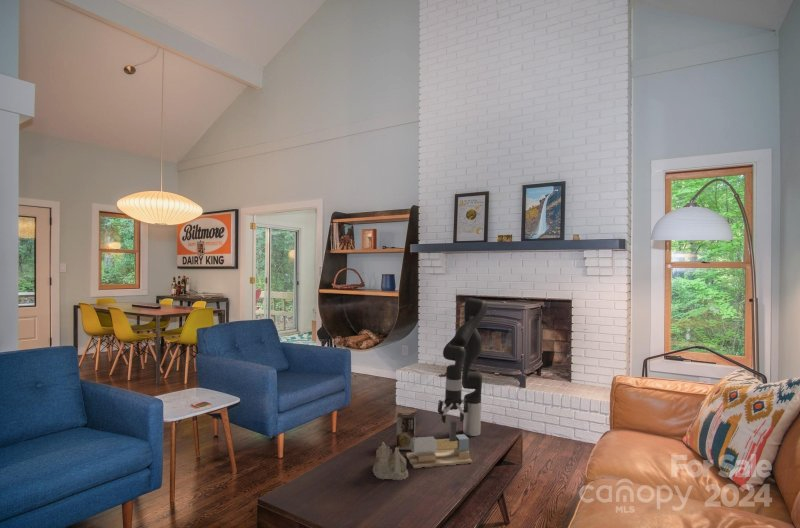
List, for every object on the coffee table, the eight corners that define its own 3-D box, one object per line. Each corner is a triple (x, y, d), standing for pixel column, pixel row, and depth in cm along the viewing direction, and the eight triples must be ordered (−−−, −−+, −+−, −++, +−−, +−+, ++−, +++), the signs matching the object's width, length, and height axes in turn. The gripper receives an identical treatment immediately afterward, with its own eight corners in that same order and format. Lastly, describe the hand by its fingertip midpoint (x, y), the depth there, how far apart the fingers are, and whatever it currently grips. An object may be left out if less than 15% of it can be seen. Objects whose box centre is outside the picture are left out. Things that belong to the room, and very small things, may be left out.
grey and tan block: (409, 454, 214) (409, 436, 214) (431, 452, 216) (431, 434, 216) (415, 463, 204) (415, 444, 204) (437, 461, 207) (438, 442, 207)
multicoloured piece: (430, 447, 213) (430, 421, 213) (462, 444, 216) (462, 419, 216) (432, 450, 209) (432, 423, 209) (464, 447, 213) (465, 421, 213)
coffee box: (415, 445, 228) (415, 413, 227) (414, 450, 221) (415, 417, 221) (397, 444, 228) (397, 412, 228) (395, 449, 222) (396, 416, 222)
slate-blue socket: (453, 451, 218) (454, 433, 218) (463, 451, 219) (463, 433, 219) (459, 458, 210) (460, 440, 210) (469, 458, 211) (469, 439, 211)
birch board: (406, 455, 216) (406, 452, 216) (461, 450, 222) (461, 448, 222) (413, 468, 202) (413, 465, 202) (472, 463, 208) (472, 460, 208)
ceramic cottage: (406, 481, 189) (406, 445, 190) (368, 479, 192) (368, 442, 193) (412, 467, 205) (411, 433, 206) (376, 465, 208) (376, 431, 209)
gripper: (464, 384, 218) (463, 418, 219) (436, 386, 215) (435, 420, 216) (470, 389, 211) (469, 424, 211) (441, 390, 208) (440, 425, 208)
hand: (452, 421), depth 213 cm, fingers open, 8 cm apart
